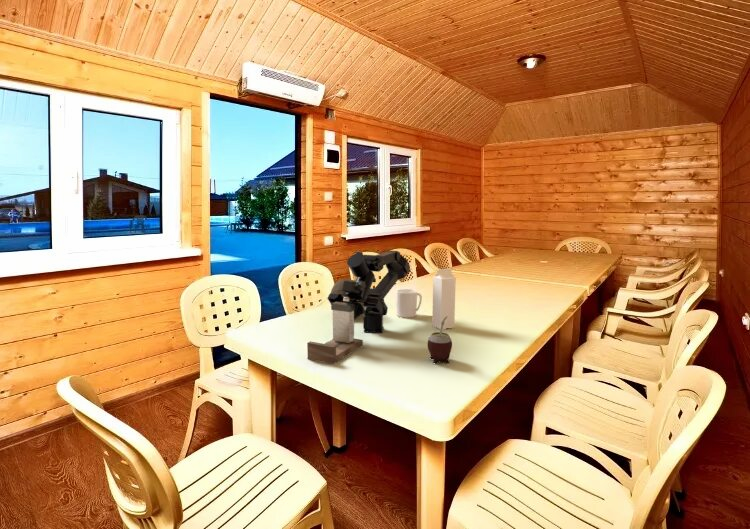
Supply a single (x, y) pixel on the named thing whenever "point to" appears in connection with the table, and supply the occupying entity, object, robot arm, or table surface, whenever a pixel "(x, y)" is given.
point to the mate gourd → (440, 345)
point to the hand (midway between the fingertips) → (346, 324)
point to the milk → (443, 298)
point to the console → (331, 350)
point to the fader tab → (343, 321)
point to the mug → (407, 303)
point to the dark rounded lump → (340, 287)
